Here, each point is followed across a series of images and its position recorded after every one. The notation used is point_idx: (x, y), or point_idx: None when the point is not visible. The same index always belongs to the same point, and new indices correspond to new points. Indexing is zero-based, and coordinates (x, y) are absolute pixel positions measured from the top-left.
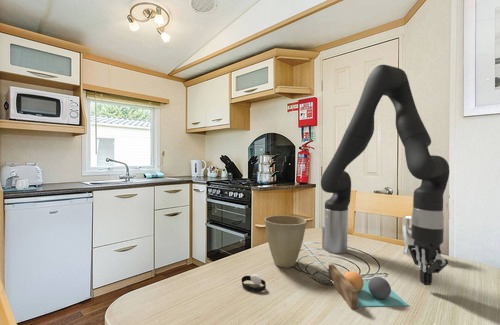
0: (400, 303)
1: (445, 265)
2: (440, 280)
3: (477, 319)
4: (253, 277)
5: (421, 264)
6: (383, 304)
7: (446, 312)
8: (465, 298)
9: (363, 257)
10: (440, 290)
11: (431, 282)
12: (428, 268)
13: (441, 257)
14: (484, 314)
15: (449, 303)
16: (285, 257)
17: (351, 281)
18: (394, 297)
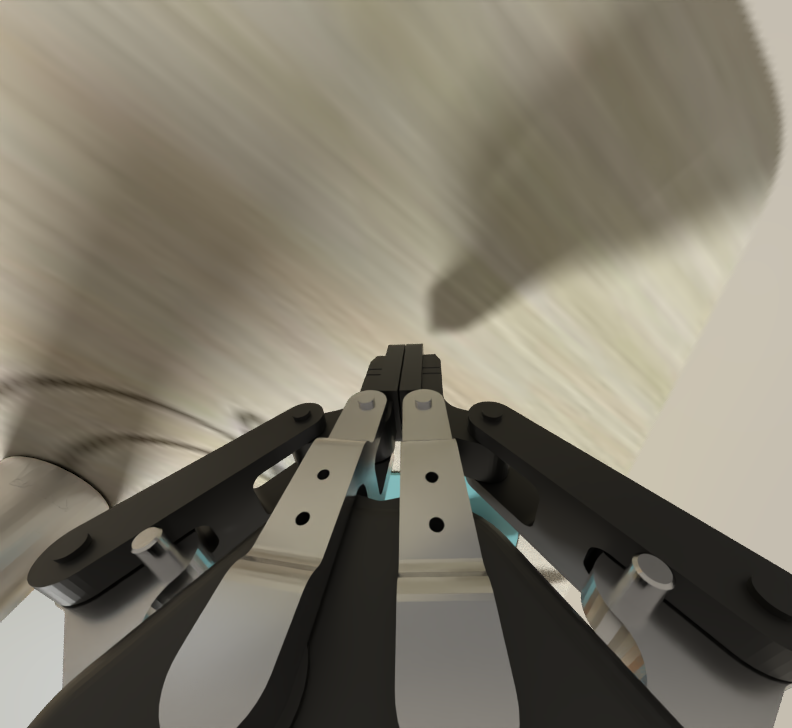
0: None
1: (700, 531)
2: (231, 114)
3: (725, 266)
4: None
5: (387, 485)
6: (511, 535)
7: (610, 377)
8: (510, 124)
9: (79, 424)
10: (399, 244)
11: (440, 362)
12: (483, 493)
13: (762, 725)
14: (716, 162)
15: (545, 303)
16: None
17: None
18: (471, 492)
